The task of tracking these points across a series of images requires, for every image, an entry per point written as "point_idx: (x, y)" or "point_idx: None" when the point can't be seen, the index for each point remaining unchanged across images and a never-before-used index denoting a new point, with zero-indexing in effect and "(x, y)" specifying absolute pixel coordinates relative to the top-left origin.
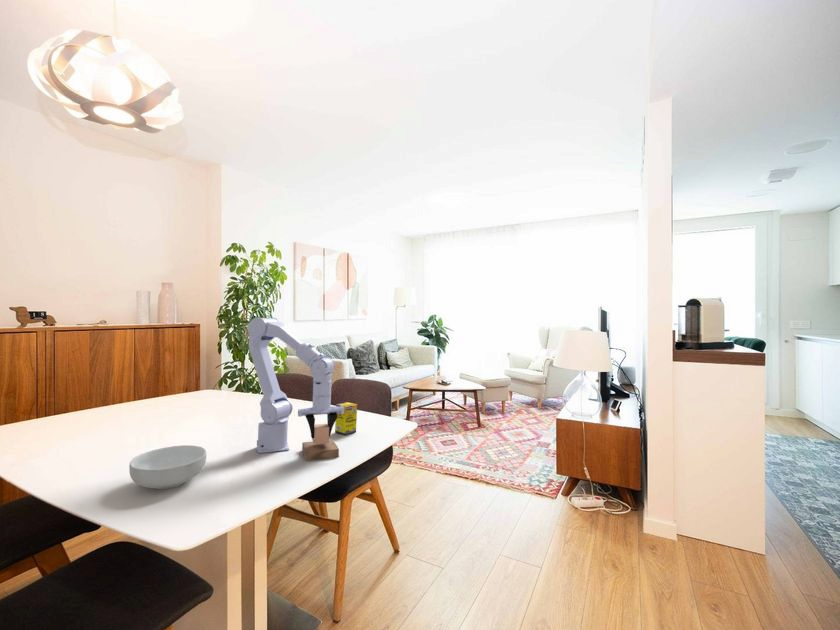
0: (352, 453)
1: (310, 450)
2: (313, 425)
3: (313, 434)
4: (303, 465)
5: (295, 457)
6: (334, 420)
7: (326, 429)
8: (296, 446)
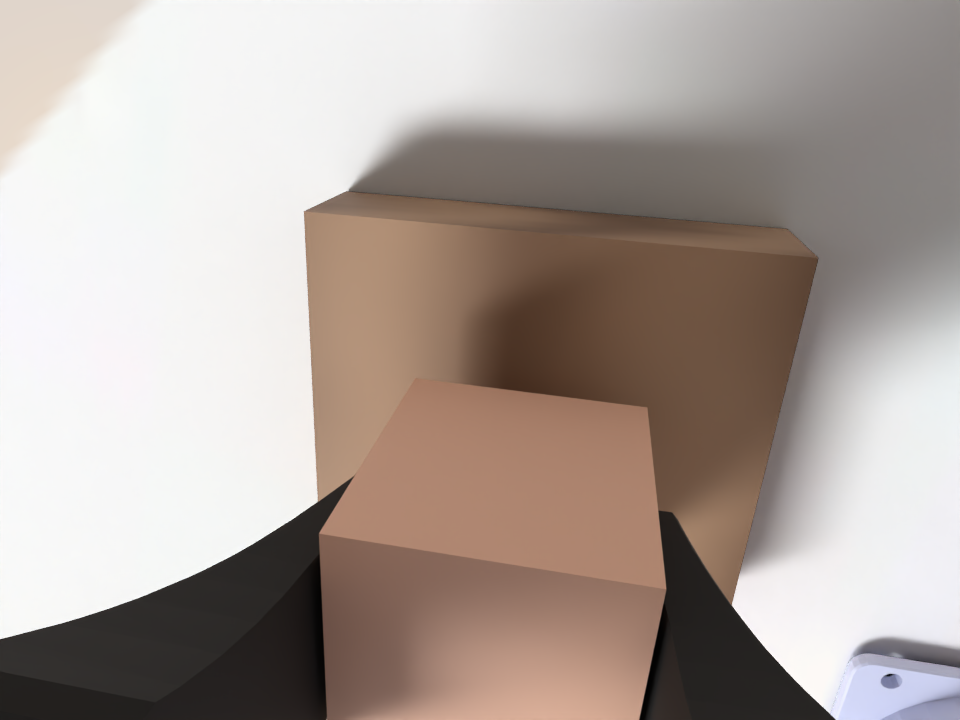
0: (165, 239)
1: (723, 323)
2: (706, 670)
3: (664, 540)
4: (890, 57)
5: (869, 407)
6: (102, 625)
7: (393, 516)
8: None
